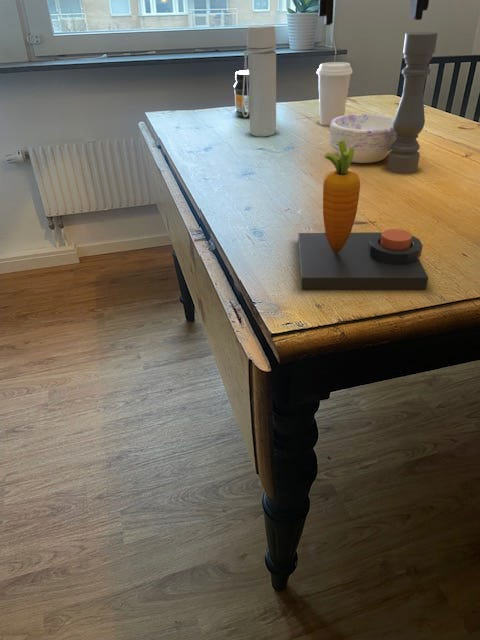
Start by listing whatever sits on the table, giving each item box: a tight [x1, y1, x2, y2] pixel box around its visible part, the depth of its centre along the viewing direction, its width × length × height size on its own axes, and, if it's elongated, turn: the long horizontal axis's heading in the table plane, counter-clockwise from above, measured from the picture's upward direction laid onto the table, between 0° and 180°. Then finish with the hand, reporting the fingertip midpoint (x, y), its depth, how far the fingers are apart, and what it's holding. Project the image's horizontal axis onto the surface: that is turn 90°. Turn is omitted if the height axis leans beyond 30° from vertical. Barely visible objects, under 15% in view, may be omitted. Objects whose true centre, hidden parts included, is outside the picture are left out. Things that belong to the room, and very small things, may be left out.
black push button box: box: [297, 231, 429, 291], centre depth 70 cm, size 16×14×4 cm
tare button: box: [380, 228, 413, 250], centre depth 68 cm, size 4×4×2 cm
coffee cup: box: [316, 61, 353, 127], centre depth 138 cm, size 10×10×15 cm
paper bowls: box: [328, 113, 397, 164], centre depth 111 cm, size 15×15×8 cm
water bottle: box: [242, 24, 278, 138], centre depth 127 cm, size 9×8×25 cm
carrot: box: [322, 141, 361, 253], centre depth 66 cm, size 5×5×15 cm
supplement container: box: [233, 69, 250, 119], centre depth 151 cm, size 10×10×12 cm
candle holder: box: [386, 31, 439, 175], centre depth 98 cm, size 6×6×25 cm
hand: (371, 21), depth 56 cm, fingers open, 9 cm apart
